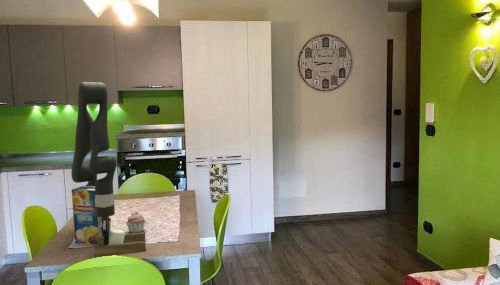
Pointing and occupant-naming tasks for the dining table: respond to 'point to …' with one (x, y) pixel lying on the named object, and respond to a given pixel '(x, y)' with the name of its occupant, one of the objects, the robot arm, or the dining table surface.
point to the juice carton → (85, 215)
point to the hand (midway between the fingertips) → (106, 244)
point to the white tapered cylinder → (116, 236)
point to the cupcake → (135, 223)
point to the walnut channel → (121, 245)
